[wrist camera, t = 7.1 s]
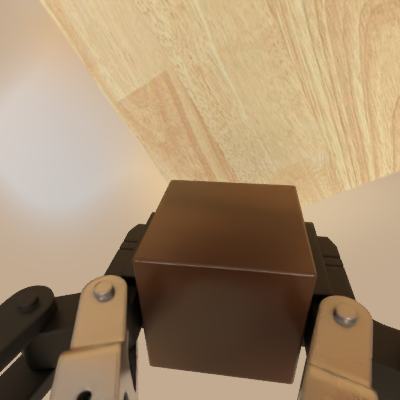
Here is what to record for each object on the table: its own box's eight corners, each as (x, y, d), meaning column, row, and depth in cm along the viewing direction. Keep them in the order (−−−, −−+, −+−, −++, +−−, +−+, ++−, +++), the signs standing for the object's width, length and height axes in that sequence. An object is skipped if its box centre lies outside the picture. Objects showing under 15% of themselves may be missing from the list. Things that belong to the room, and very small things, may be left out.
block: (177, 270, 14) (149, 367, 10) (170, 178, 12) (130, 259, 8) (281, 279, 13) (293, 386, 10) (295, 184, 11) (318, 274, 7)
